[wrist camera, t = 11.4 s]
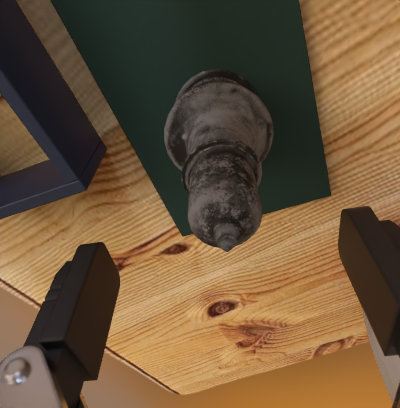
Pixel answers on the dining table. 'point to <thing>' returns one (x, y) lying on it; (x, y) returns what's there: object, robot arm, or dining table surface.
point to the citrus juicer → (385, 362)
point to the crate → (42, 120)
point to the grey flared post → (220, 154)
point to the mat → (196, 63)
